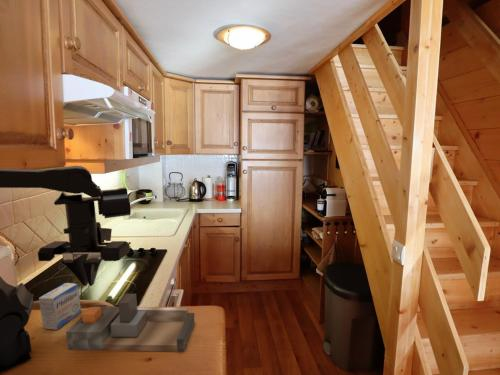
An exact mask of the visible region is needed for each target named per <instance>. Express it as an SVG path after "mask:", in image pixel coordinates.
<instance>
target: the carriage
mask: <svg viewBox="0 0 500 375" xmlns="http://www.w3.org/2000/svg"><path fill="white" fill-rule="evenodd" d="M117 305H118V306H117V307H119V315H118V317H117V318H116V319H115V320H114V321H113V323H112V324H111V334H112V337H138V335H139V333H140V332H141V330H142V329H143V327H144V326H145V324H146V323H147V316H146V311H137V307H138V303H137V293H125V295H124V296H123V297H122V298H121V299H120V300H119V301H118V302H117Z"/></svg>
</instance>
